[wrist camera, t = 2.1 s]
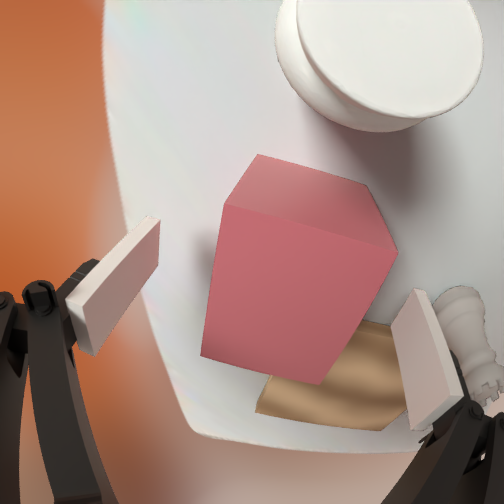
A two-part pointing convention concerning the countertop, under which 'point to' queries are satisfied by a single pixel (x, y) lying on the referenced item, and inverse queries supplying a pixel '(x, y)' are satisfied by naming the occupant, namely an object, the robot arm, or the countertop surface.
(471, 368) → the rook chess piece
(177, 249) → the countertop surface
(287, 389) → the base plate
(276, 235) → the brick
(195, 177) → the countertop surface
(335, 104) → the pill bottle
